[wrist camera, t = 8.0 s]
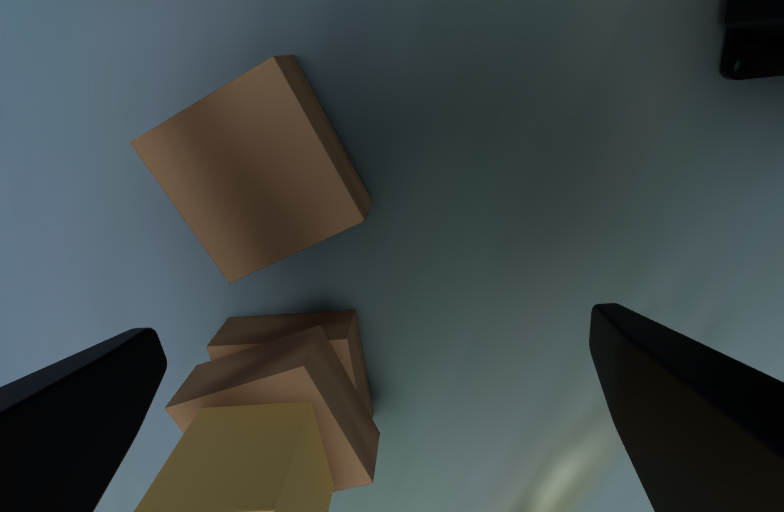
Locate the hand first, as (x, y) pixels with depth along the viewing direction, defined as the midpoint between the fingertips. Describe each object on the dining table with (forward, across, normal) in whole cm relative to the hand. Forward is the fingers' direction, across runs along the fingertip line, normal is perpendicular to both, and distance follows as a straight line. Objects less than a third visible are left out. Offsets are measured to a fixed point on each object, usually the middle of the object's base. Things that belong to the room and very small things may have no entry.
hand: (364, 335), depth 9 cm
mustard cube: (+7, +7, +10) cm, 14 cm away
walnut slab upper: (+10, +7, +10) cm, 16 cm away
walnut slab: (+13, +6, -1) cm, 14 cm away
